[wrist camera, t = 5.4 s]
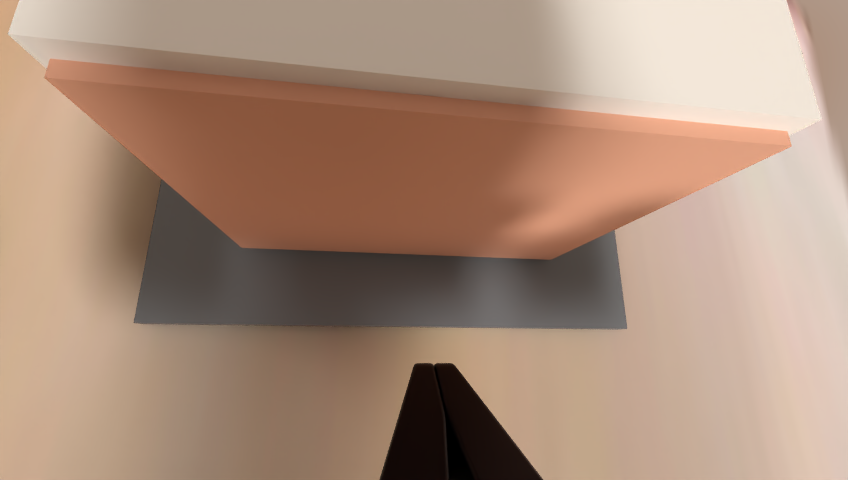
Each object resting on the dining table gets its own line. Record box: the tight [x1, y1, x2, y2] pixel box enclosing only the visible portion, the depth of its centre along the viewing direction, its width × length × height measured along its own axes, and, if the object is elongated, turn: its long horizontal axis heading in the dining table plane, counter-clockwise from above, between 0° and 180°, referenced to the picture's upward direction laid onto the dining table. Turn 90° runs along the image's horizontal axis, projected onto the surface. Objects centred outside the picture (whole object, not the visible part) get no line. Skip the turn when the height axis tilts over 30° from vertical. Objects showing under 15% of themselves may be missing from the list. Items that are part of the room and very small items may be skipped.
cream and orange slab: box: [8, 0, 822, 260], centre depth 11 cm, size 3×12×10 cm, turn 90°
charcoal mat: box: [134, 180, 627, 329], centre depth 17 cm, size 19×18×1 cm
